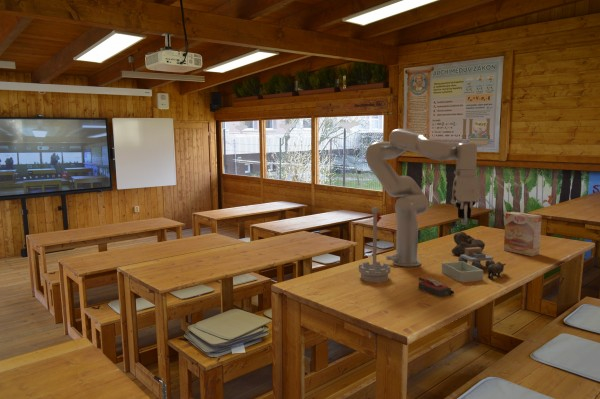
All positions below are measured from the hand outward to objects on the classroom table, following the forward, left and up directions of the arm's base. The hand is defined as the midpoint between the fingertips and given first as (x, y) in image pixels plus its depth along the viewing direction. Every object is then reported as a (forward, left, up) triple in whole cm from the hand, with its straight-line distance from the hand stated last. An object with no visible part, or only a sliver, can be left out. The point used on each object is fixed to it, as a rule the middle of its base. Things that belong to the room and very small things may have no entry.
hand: (464, 217), depth 193 cm
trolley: (+14, +10, -25) cm, 30 cm away
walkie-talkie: (-21, -11, -26) cm, 35 cm away
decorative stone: (+24, +31, -25) cm, 46 cm away
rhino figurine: (+14, -4, -25) cm, 29 cm away
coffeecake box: (+51, +26, -25) cm, 62 cm away
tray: (0, 0, -25) cm, 25 cm away
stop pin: (0, 0, -3) cm, 3 cm away
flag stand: (-36, +8, -25) cm, 45 cm away
